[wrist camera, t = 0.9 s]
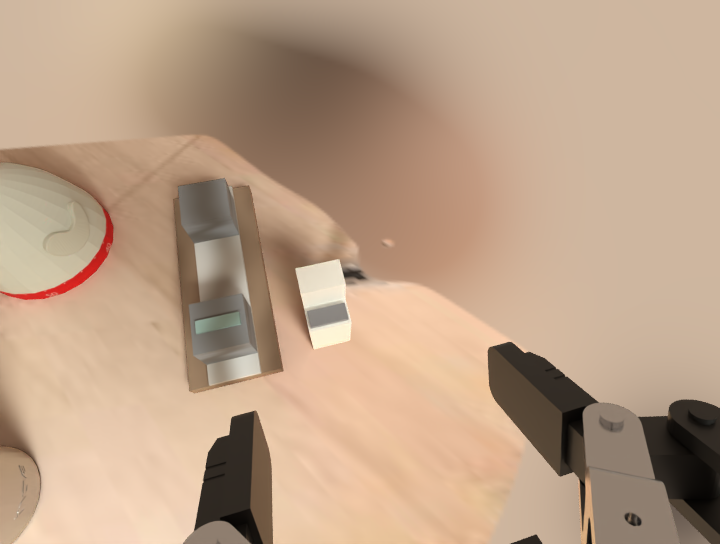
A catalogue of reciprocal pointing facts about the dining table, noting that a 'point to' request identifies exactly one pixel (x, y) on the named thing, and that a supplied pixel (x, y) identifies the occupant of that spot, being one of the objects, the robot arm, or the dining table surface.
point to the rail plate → (223, 287)
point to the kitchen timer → (48, 233)
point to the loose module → (325, 303)
